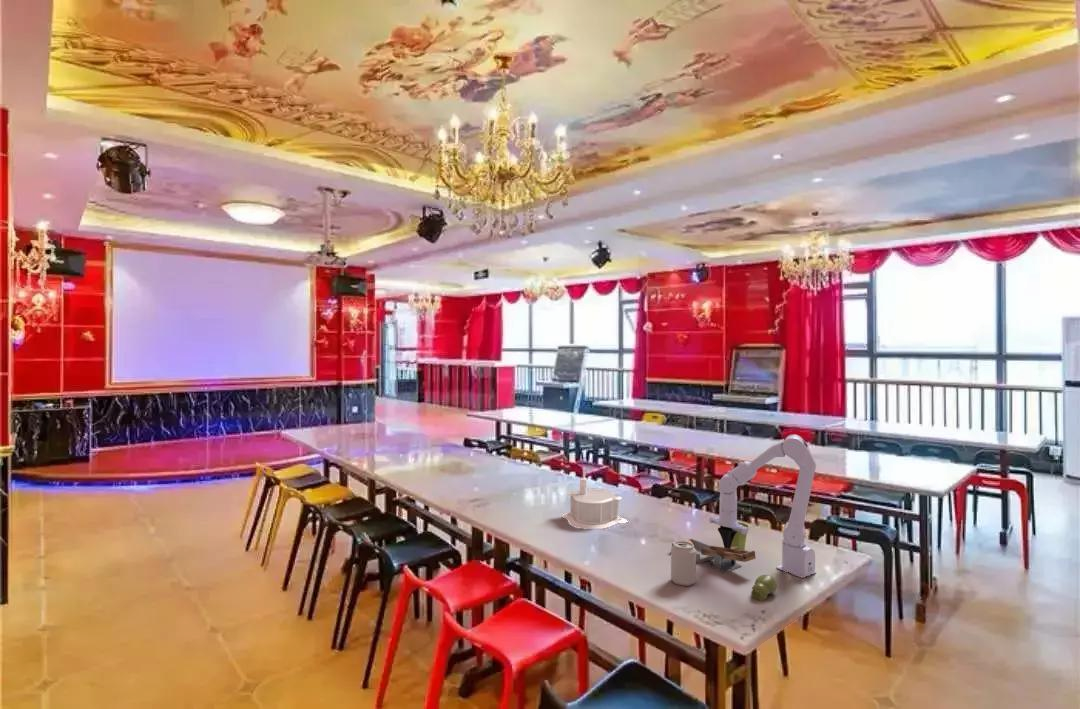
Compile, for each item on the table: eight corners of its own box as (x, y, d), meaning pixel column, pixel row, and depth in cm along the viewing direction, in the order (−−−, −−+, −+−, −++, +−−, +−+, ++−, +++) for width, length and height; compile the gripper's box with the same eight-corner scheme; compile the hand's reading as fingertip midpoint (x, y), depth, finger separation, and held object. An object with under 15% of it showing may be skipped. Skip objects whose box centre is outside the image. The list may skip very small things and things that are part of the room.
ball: (694, 539, 199) (687, 538, 202) (687, 541, 197) (680, 540, 200) (695, 550, 198) (688, 548, 201) (689, 552, 197) (681, 550, 199)
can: (691, 576, 177) (691, 539, 177) (698, 587, 170) (699, 548, 170) (668, 577, 177) (668, 539, 177) (674, 587, 170) (674, 548, 169)
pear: (779, 575, 166) (764, 590, 159) (780, 591, 166) (765, 607, 160) (761, 569, 170) (745, 584, 163) (762, 585, 170) (746, 600, 164)
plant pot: (716, 545, 205) (716, 522, 205) (737, 542, 208) (737, 519, 208) (733, 554, 196) (733, 530, 196) (755, 551, 200) (755, 527, 200)
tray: (718, 557, 194) (718, 548, 194) (698, 563, 189) (698, 554, 189) (691, 546, 204) (691, 538, 204) (671, 551, 199) (671, 543, 199)
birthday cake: (634, 513, 245) (635, 465, 245) (623, 534, 218) (623, 479, 218) (569, 507, 255) (569, 460, 254) (550, 526, 227) (550, 473, 227)
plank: (770, 554, 183) (769, 546, 183) (744, 562, 176) (743, 554, 176) (726, 547, 198) (725, 540, 198) (700, 554, 191) (699, 547, 191)
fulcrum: (741, 566, 186) (741, 552, 186) (723, 572, 181) (723, 558, 181) (726, 560, 191) (726, 547, 191) (708, 566, 186) (708, 552, 186)
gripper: (753, 513, 188) (752, 553, 189) (718, 502, 201) (718, 540, 201) (740, 516, 185) (739, 557, 185) (705, 505, 197) (704, 543, 197)
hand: (727, 548), depth 193 cm, fingers closed, pressing on plank
